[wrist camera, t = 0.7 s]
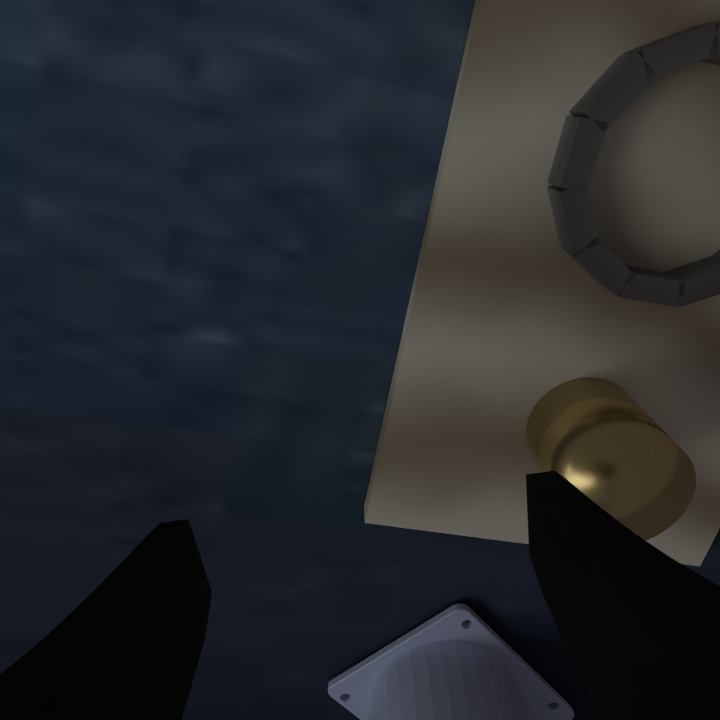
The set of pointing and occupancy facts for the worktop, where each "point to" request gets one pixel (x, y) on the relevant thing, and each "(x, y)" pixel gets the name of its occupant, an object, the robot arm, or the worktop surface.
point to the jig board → (562, 259)
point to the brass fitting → (612, 453)
